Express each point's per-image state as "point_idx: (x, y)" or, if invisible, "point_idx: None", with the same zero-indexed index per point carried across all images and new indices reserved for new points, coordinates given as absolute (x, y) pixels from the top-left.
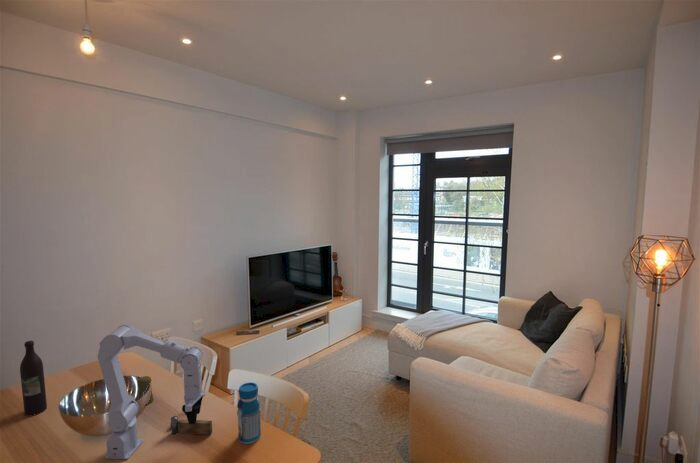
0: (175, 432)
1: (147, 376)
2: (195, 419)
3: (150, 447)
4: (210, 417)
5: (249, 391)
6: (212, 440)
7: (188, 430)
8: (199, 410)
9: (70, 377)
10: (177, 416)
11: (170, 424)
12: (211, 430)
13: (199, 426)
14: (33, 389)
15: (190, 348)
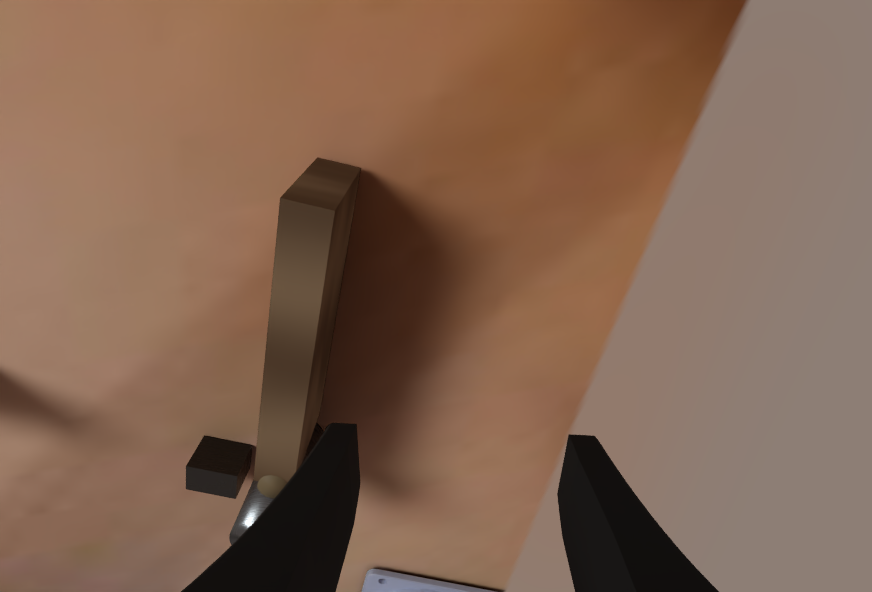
0: (317, 439)
1: None
2: (627, 488)
3: (438, 526)
4: (82, 211)
5: None
6: (444, 132)
7: (322, 369)
8: (345, 459)
9: None
10: (238, 526)
11: (238, 491)
12: (327, 168)
13: (326, 304)
14: None
15: None
